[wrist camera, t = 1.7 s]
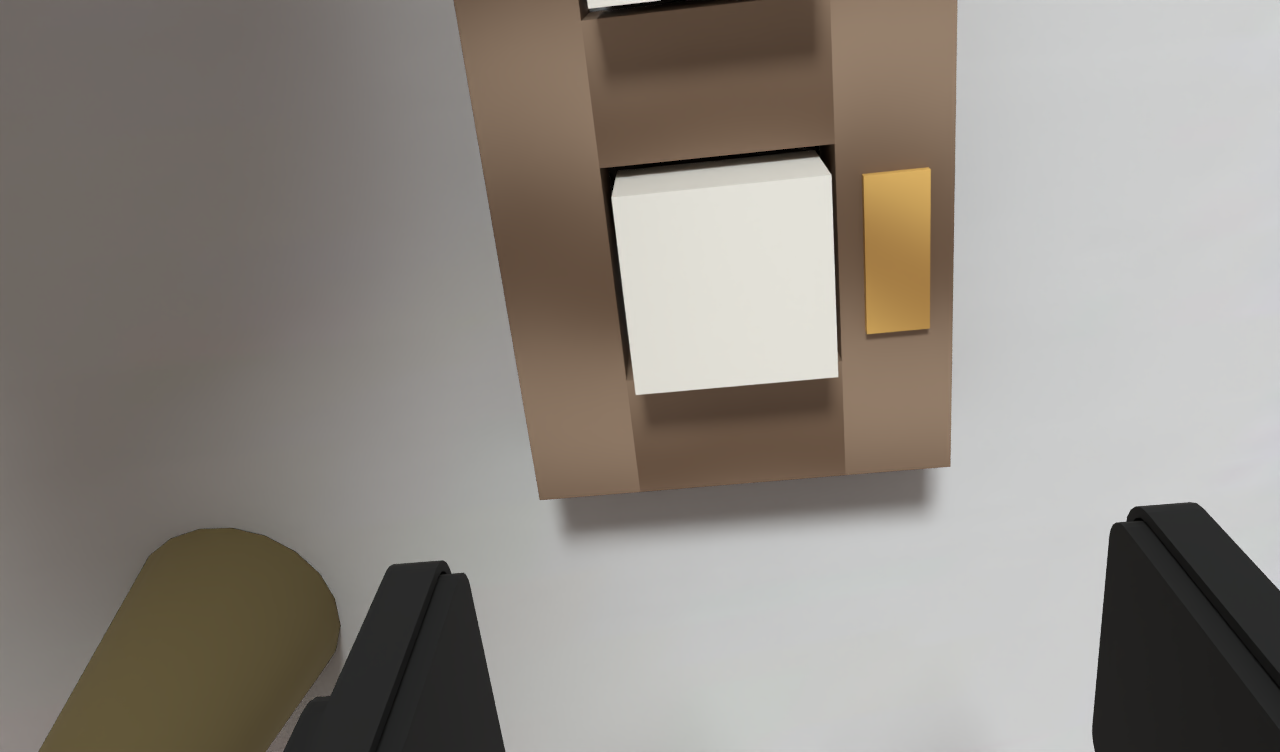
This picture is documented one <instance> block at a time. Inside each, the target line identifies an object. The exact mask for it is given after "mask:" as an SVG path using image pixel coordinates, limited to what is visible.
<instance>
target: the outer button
mask: <svg viewBox="0 0 1280 752" xmlns="http://www.w3.org/2000/svg"><path fill="white" fill-rule="evenodd" d="M611 198H612V206H613V214H614V222H615V231H616V239H617V247H618V255H619V263H620V271H621V279H622V288H623V296H624V304H625V312H626V320H627V328H628V336H629V345H630V353H631V361H632V369H633V377H634V385H635V393H636V395H642V394H653V393H664V392H676V391H687V390H698V389H710V388H721V387H732V386H743V385H755V384H766V383H777V382H789V381H800V380H811V379H822V378H834V377H838V352H837V323H836V294H835V264H834V235H833V206H832V176H831V174H830V172H829V171H828V169H827V168H826V166H825V165H824V163H823V162H822V160H821V159H820V157H819V156H818V154H817V153H816V151H815V150H812V151H802V152H793V153H783V154H773V155H764V156H754V157H745V158H735V159H725V160H716V161H706V162H696V163H687V164H677V165H668V166H658V167H648V168H639V169H629V170H620V171H617V175H616V179H615V184H614V188H613V193H612V197H611Z"/></svg>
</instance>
